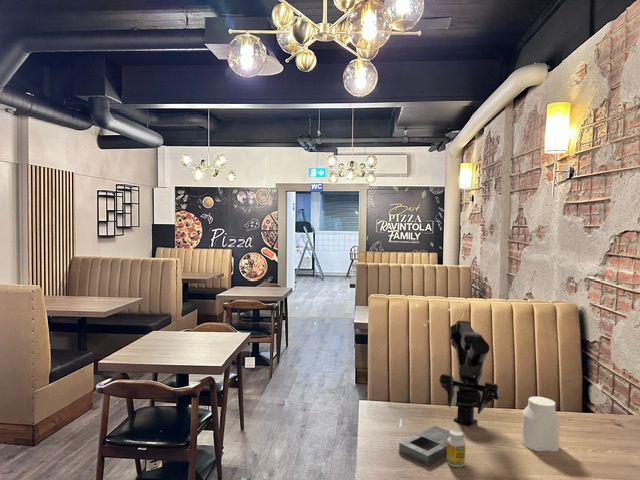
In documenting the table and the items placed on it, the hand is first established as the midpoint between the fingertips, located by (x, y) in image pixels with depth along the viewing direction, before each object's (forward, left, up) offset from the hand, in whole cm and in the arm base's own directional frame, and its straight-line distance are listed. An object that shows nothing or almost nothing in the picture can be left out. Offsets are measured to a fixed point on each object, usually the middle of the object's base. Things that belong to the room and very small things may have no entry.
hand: (463, 409), depth 149 cm
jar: (-25, +15, -14) cm, 32 cm away
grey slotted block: (+7, -7, -14) cm, 17 cm away
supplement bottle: (+8, +3, -14) cm, 16 cm away
